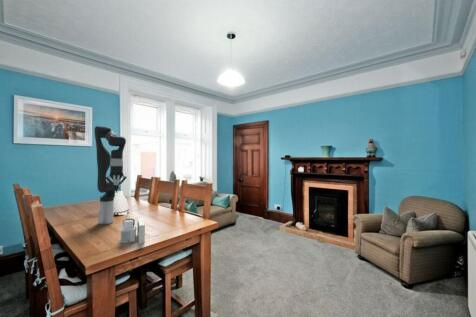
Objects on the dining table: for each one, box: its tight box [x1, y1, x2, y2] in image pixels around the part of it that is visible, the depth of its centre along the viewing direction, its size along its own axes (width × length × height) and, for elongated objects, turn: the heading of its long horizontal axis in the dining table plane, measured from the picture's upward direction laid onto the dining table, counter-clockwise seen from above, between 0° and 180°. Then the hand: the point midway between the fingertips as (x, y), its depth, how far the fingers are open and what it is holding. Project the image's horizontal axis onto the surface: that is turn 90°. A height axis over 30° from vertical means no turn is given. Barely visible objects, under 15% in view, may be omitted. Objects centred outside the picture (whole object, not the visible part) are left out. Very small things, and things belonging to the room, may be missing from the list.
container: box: [120, 218, 137, 244], centre depth 134 cm, size 8×8×13 cm
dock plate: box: [136, 217, 146, 245], centre depth 137 cm, size 3×18×11 cm, turn 29°
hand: (116, 190), depth 146 cm, fingers closed
